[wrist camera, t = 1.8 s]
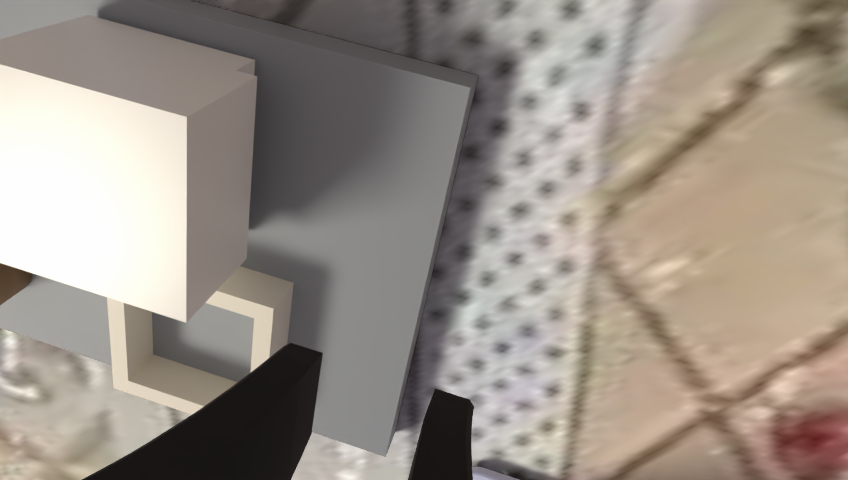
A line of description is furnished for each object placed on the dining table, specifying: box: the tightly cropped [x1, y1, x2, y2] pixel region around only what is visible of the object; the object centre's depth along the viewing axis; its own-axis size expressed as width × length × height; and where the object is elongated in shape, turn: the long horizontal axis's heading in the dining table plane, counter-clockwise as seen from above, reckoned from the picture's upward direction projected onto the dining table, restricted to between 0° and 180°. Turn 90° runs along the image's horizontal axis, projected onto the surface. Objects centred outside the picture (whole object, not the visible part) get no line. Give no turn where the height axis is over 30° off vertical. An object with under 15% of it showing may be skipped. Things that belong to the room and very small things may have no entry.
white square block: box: [0, 15, 257, 323], centre depth 18 cm, size 6×6×4 cm
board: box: [0, 0, 478, 457], centre depth 22 cm, size 18×14×3 cm
